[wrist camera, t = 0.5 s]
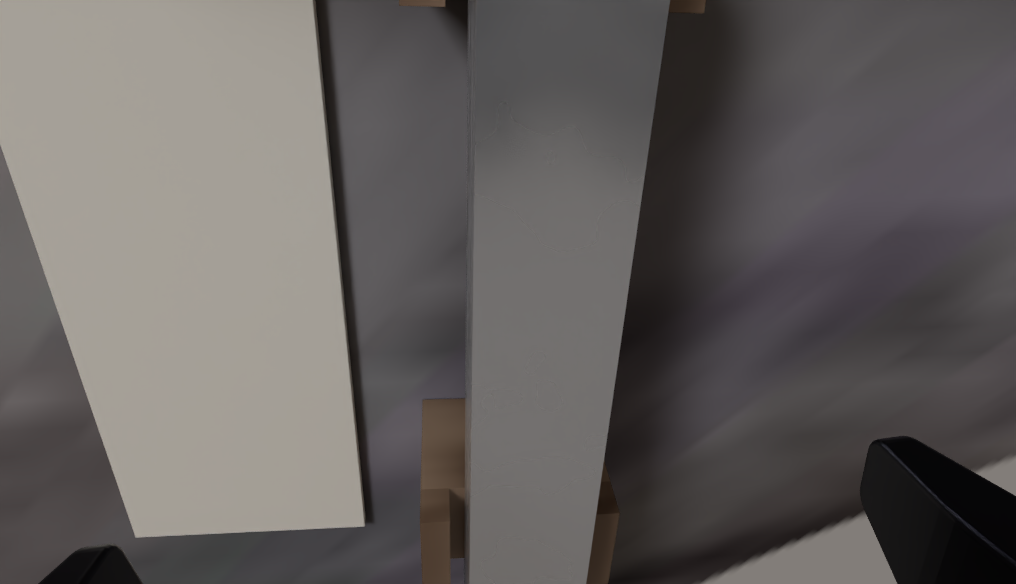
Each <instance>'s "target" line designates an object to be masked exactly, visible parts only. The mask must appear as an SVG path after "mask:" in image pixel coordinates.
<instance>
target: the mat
mask: <svg viewBox="0 0 1016 584" xmlns="http://www.w3.org/2000/svg"><path fill="white" fill-rule="evenodd" d="M0 145H1V148H2V151H3V154H4V156H5V159H6V162H7V165H8V168H9V171H10V174H11V177H12V180H13V183H14V185H15V188H16V191H17V194H18V197H19V200H20V203H21V206H22V209H23V212H24V214H25V217H26V220H27V223H28V226H29V229H30V232H31V235H32V238H33V241H34V244H35V246H36V249H37V252H38V255H39V258H40V261H41V264H42V267H43V270H44V273H45V275H46V278H47V281H48V284H49V287H50V290H51V293H52V296H53V299H54V302H55V304H56V307H57V310H58V313H59V316H60V319H61V322H62V325H63V328H64V331H65V333H66V336H67V339H68V342H69V345H70V348H71V351H72V354H73V357H74V360H75V362H76V365H77V368H78V371H79V374H80V377H81V380H82V383H83V386H84V389H85V391H86V394H87V397H88V400H89V403H90V406H91V409H92V412H93V415H94V418H95V420H96V423H97V426H98V429H99V432H100V435H101V438H102V441H103V444H104V447H105V449H106V452H107V455H108V458H109V461H110V464H111V467H112V470H113V473H114V476H115V478H116V481H117V484H118V487H119V490H120V493H121V496H122V499H123V502H124V505H125V507H126V510H127V513H128V516H129V519H130V522H131V525H132V528H133V531H134V534H135V536H136V537H155V536H176V535H196V534H217V533H238V532H259V531H279V530H300V529H321V528H341V527H362V526H365V518H366V517H365V507H364V497H363V486H362V476H361V466H360V455H359V445H358V435H357V424H356V414H355V404H354V394H353V383H352V373H351V363H350V352H349V342H348V332H347V321H346V311H345V301H344V291H343V280H342V270H341V260H340V249H339V239H338V229H337V218H336V208H335V198H334V188H333V177H332V167H331V157H330V146H329V136H328V126H327V116H326V105H325V95H324V85H323V74H322V64H321V54H320V43H319V33H318V23H317V13H316V2H315V0H0Z"/></svg>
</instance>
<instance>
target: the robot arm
mask: <svg viewBox="0 0 1016 584" xmlns="http://www.w3.org/2000/svg"><path fill="white" fill-rule="evenodd" d="M860 496H861V501H862V505H863V507H864V510H865V512H866V514H867V517H868V519H869V521H870V523H871V526H872V528H873V530H874V532H875V535H876V537H877V539H878V541H879V543H880V546H881V548H882V550H883V552H884V555H885V557H886V559H887V561H888V564H889V566H890V568H891V570H892V573H893V575H894V577H895V579H896V582H897V584H1016V496H1014V495H1013V494H1011V493H1009V492H1008V491H1006V490H1004V489H1002V488H1000V487H999V486H997V485H995V484H993V483H991V482H990V481H988V480H986V479H985V478H983V477H981V476H979V475H978V474H976V473H974V472H972V471H971V470H969V469H967V468H965V467H964V466H962V465H960V464H958V463H957V462H955V461H953V460H951V459H949V458H948V457H946V456H944V455H942V454H941V453H939V452H937V451H935V450H934V449H932V448H930V447H928V446H927V445H925V444H923V443H921V442H920V441H918V440H916V439H914V438H911V437H908V436H898V437H891V438H883V439H877V440H875V441H873V442H872V443H871V445H870V446H869V449H868V453H867V458H866V462H865V467H864V472H863V476H862V481H861V486H860ZM39 584H143V583H142V581H141V580H140V578H139V576H138V575H137V573H136V571H135V570H134V568H133V566H132V565H131V563H130V562H129V560H128V558H127V557H126V555H125V553H124V552H123V550H122V549H121V548H120V547H119V546H117V545H115V544H105V545H97V546H90V547H84V548H81V549H78V550H77V551H75V552H74V553H72V554H71V555H70V556H69V557H68V558H67V559H65V560H64V561H63V562H62V563H61V564H60V565H59V566H58V567H56V568H55V569H54V570H53V571H52V572H51V573H50V574H49V575H47V576H46V577H45V578H44V579H43V580H42V581H41V582H40V583H39Z"/></svg>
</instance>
